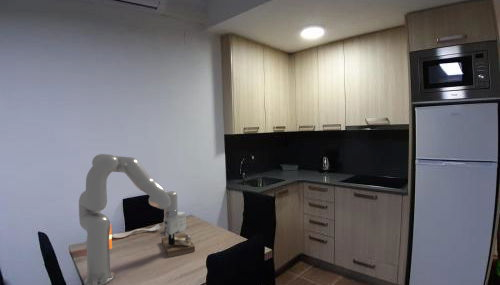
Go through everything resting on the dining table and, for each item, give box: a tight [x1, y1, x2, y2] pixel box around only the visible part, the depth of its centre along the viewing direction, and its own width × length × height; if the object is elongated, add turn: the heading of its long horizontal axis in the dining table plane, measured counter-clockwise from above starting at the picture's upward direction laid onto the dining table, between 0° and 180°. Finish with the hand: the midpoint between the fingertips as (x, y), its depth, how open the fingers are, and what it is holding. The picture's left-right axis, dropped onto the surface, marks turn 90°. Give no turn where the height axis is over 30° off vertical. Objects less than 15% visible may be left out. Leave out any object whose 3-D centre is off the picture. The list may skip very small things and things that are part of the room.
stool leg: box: [175, 237, 192, 246], centre depth 159 cm, size 13×3×4 cm, turn 76°
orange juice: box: [109, 223, 113, 250], centre depth 163 cm, size 8×9×20 cm
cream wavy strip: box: [111, 223, 163, 239], centre depth 187 cm, size 9×32×4 cm, turn 120°
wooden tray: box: [161, 232, 196, 258], centre depth 164 cm, size 24×15×6 cm, turn 27°
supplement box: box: [176, 211, 187, 234], centre depth 192 cm, size 7×7×13 cm
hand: (171, 244), depth 157 cm, fingers closed
